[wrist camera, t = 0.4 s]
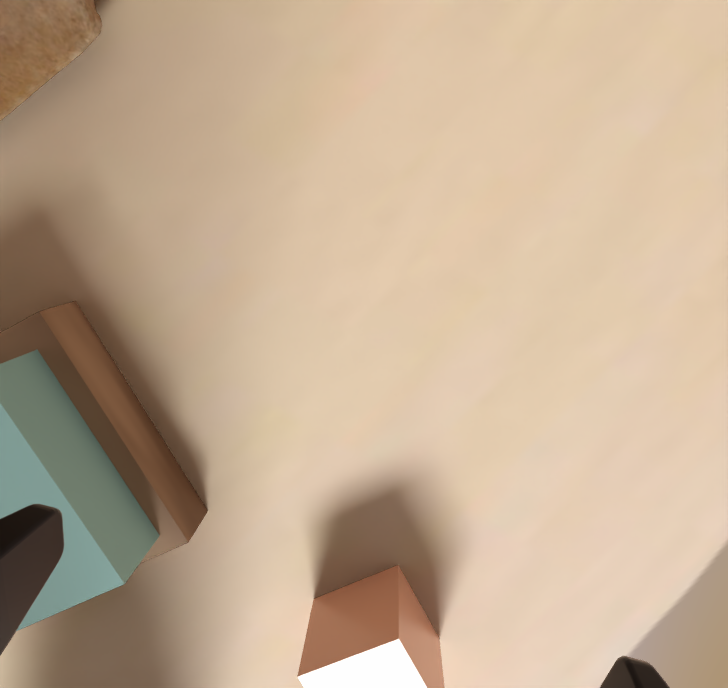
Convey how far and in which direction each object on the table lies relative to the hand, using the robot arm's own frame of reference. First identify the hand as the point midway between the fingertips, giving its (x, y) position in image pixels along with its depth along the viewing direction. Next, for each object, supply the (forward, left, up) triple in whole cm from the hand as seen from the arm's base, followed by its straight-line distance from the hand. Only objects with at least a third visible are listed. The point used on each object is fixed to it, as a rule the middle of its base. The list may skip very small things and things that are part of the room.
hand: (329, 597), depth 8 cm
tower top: (-16, +2, -12) cm, 20 cm away
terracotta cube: (-6, -12, -15) cm, 20 cm away
